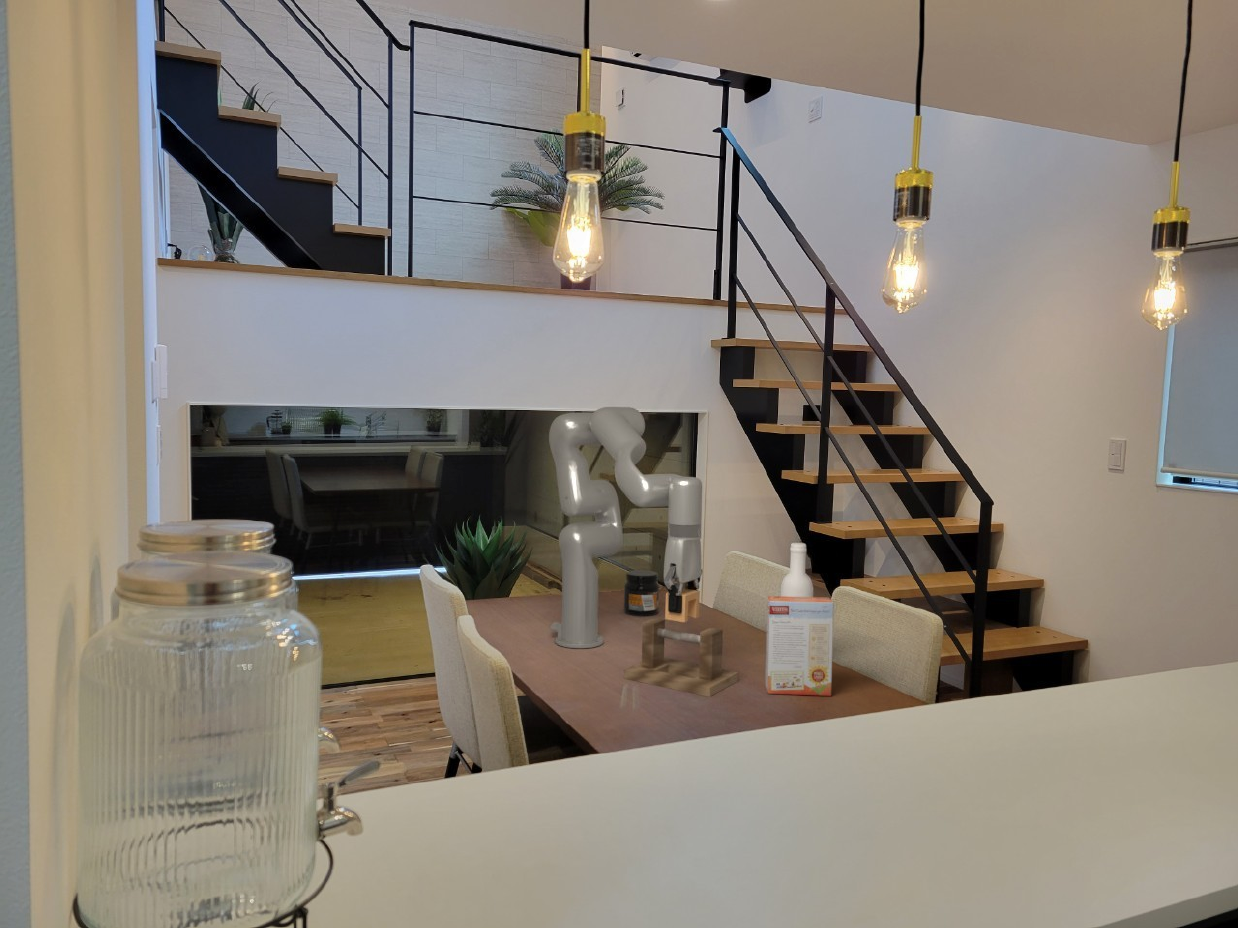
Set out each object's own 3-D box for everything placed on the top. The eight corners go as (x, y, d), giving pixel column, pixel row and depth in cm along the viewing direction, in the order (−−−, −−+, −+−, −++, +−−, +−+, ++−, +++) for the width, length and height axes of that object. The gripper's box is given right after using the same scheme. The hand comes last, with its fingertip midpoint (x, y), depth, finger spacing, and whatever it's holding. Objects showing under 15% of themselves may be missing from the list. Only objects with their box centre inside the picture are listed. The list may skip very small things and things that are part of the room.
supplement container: (652, 618, 268) (652, 577, 267) (618, 614, 271) (619, 574, 270) (663, 610, 277) (664, 571, 277) (630, 607, 281) (631, 568, 280)
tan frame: (623, 678, 209) (624, 624, 208) (655, 664, 221) (656, 613, 220) (709, 696, 197) (711, 639, 196) (737, 680, 209) (739, 627, 208)
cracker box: (827, 688, 205) (830, 596, 203) (831, 697, 199) (835, 602, 197) (764, 685, 206) (767, 594, 204) (766, 694, 200) (769, 600, 198)
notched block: (665, 619, 206) (665, 592, 206) (679, 613, 212) (680, 588, 212) (684, 622, 204) (685, 595, 203) (698, 616, 209) (699, 590, 209)
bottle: (771, 666, 221) (775, 543, 219) (786, 659, 227) (790, 540, 225) (802, 673, 216) (806, 547, 214) (816, 665, 222) (821, 543, 220)
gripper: (688, 526, 216) (687, 600, 217) (650, 534, 201) (649, 614, 202) (716, 528, 212) (715, 604, 213) (680, 537, 197) (678, 618, 198)
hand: (683, 608), depth 208 cm, fingers closed on notched block, 6 cm apart
